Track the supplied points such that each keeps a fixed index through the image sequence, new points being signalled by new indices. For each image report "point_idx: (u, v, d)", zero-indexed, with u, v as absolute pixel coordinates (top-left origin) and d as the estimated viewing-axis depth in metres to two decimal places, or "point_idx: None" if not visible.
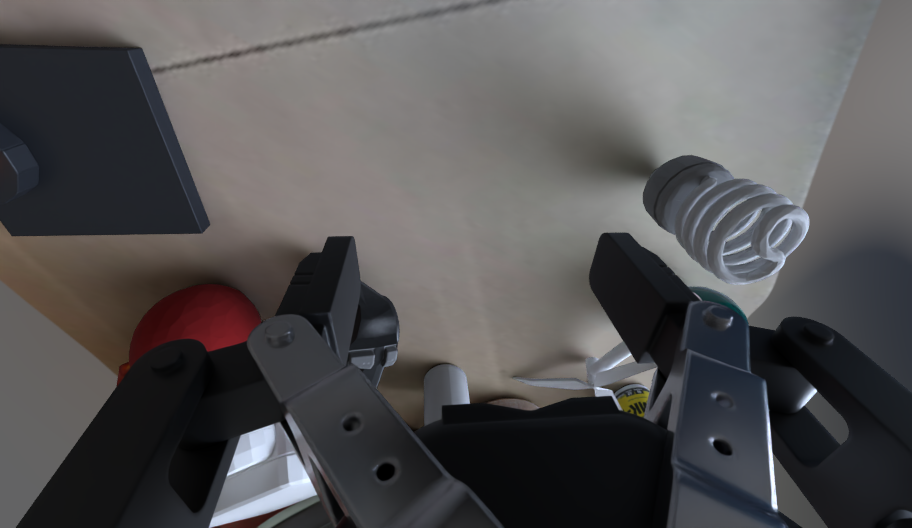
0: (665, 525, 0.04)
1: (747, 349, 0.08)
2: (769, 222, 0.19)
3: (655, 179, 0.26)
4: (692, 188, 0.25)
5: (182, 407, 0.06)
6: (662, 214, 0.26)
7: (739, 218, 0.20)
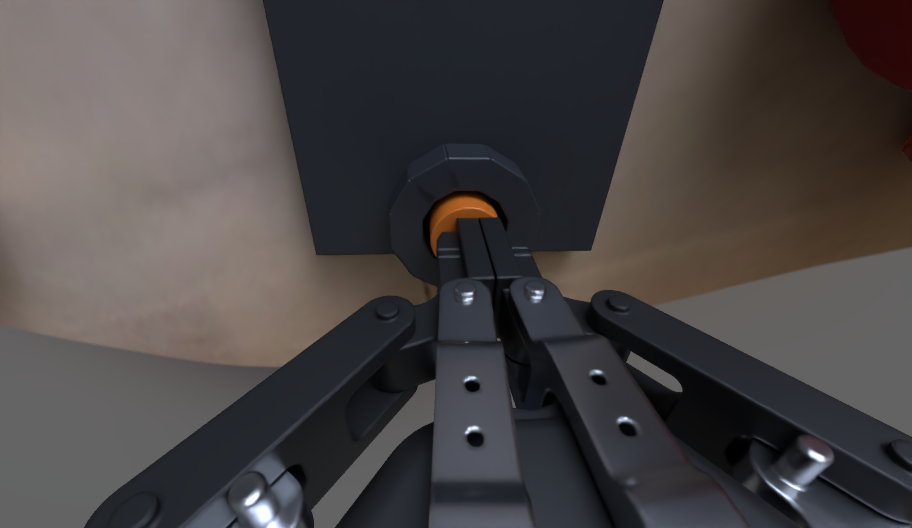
0: (665, 525, 0.04)
1: (569, 309, 0.08)
2: None
3: None
4: None
5: (378, 356, 0.07)
6: None
7: None
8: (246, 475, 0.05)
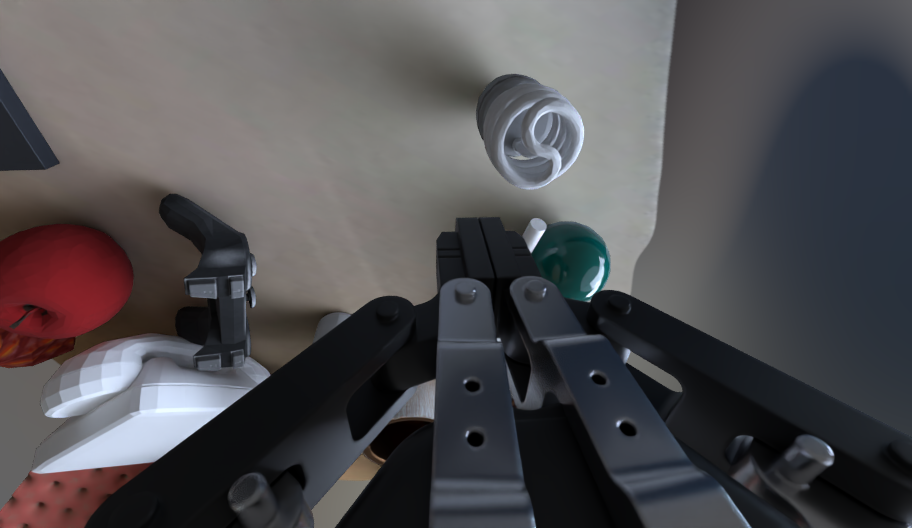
0: (665, 525, 0.04)
1: (569, 309, 0.08)
2: (530, 115, 0.20)
3: (479, 99, 0.27)
4: None
5: (378, 355, 0.07)
6: (483, 132, 0.26)
7: (509, 115, 0.20)
8: (246, 475, 0.05)
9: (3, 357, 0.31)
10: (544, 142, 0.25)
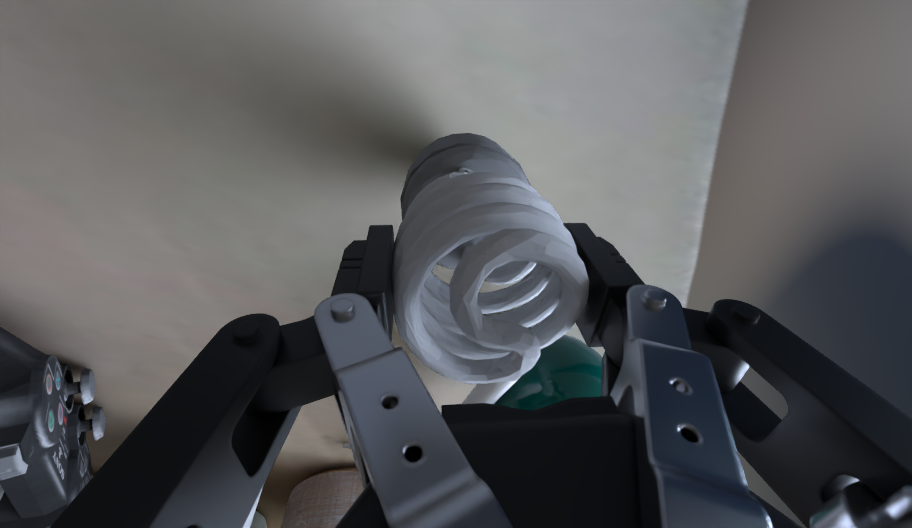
0: (665, 525, 0.04)
1: (684, 327, 0.08)
2: (466, 271, 0.08)
3: (407, 175, 0.15)
4: None
5: (251, 378, 0.07)
6: None
7: (424, 258, 0.09)
8: None
9: None
10: (515, 262, 0.14)
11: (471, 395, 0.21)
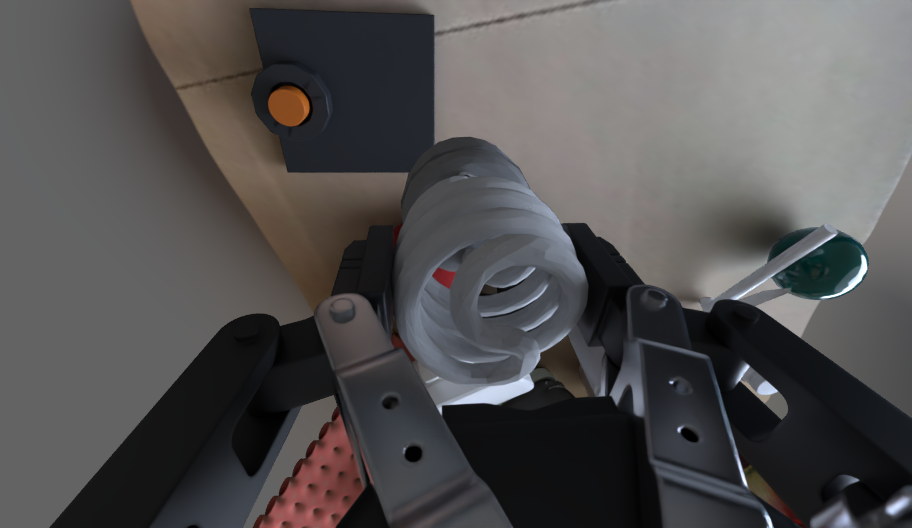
0: (665, 525, 0.04)
1: (684, 327, 0.08)
2: (466, 276, 0.08)
3: (407, 178, 0.15)
4: None
5: (251, 377, 0.07)
6: None
7: (424, 263, 0.09)
8: None
9: None
10: (515, 265, 0.14)
11: (783, 255, 0.39)
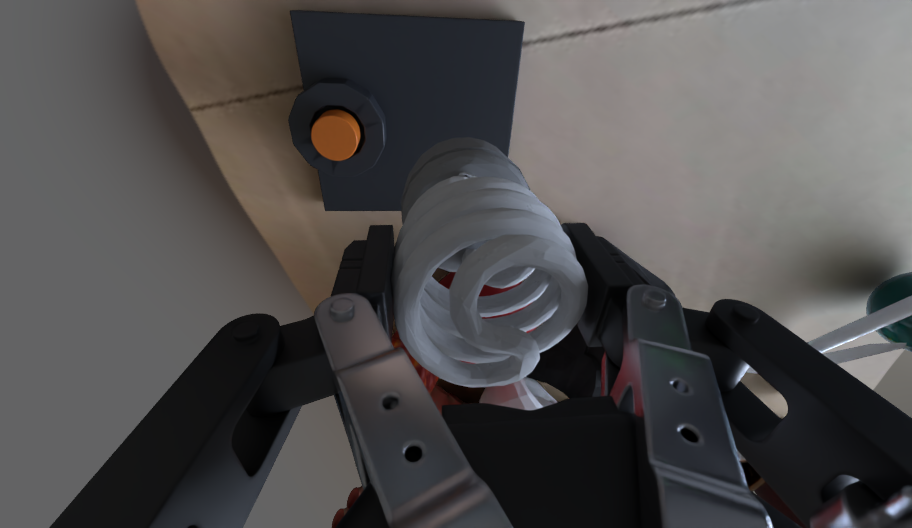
0: (665, 525, 0.04)
1: (684, 327, 0.08)
2: (466, 276, 0.08)
3: (407, 178, 0.15)
4: None
5: (252, 377, 0.07)
6: None
7: (424, 263, 0.09)
8: None
9: None
10: None
11: (900, 306, 0.33)
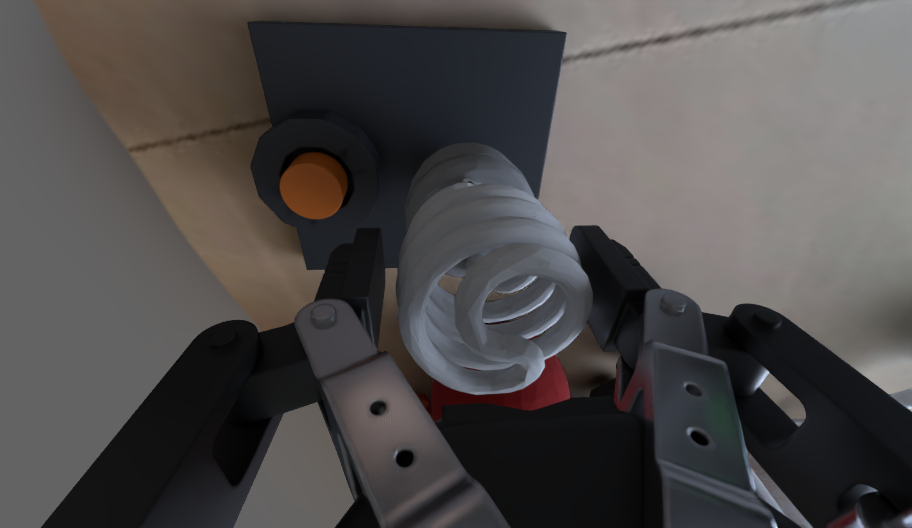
0: (665, 525, 0.04)
1: (703, 332, 0.08)
2: (471, 286, 0.08)
3: (411, 184, 0.15)
4: None
5: (231, 385, 0.07)
6: None
7: (428, 272, 0.09)
8: None
9: None
10: None
11: None
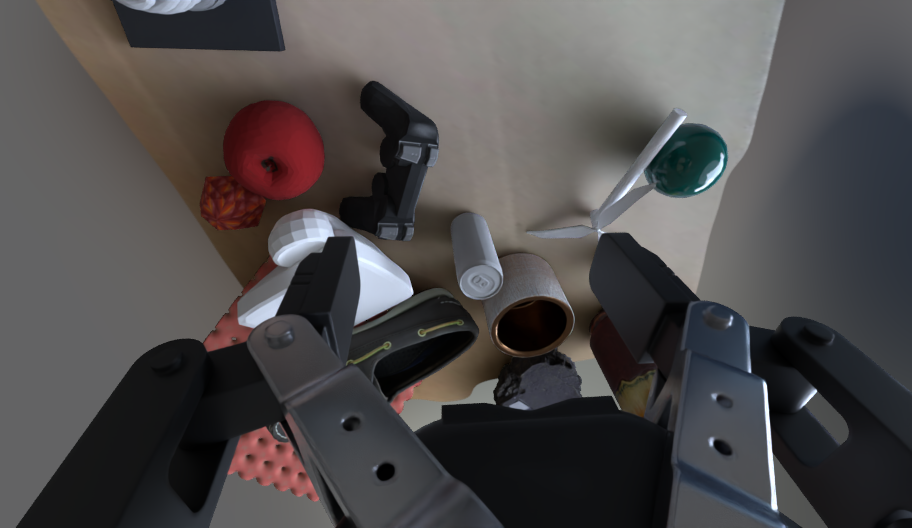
0: (665, 525, 0.04)
1: (747, 349, 0.08)
2: None
3: None
4: None
5: (182, 407, 0.06)
6: None
7: None
8: None
9: (223, 214, 0.36)
10: None
11: (645, 148, 0.39)
